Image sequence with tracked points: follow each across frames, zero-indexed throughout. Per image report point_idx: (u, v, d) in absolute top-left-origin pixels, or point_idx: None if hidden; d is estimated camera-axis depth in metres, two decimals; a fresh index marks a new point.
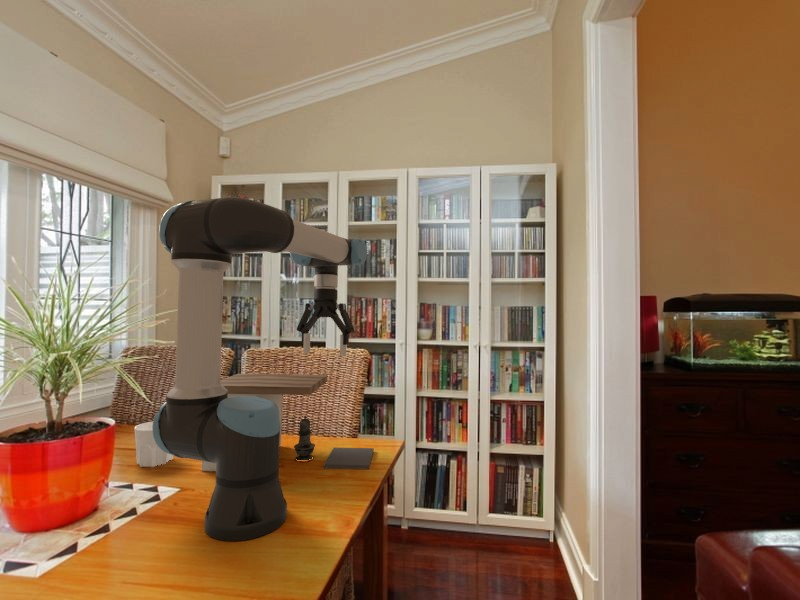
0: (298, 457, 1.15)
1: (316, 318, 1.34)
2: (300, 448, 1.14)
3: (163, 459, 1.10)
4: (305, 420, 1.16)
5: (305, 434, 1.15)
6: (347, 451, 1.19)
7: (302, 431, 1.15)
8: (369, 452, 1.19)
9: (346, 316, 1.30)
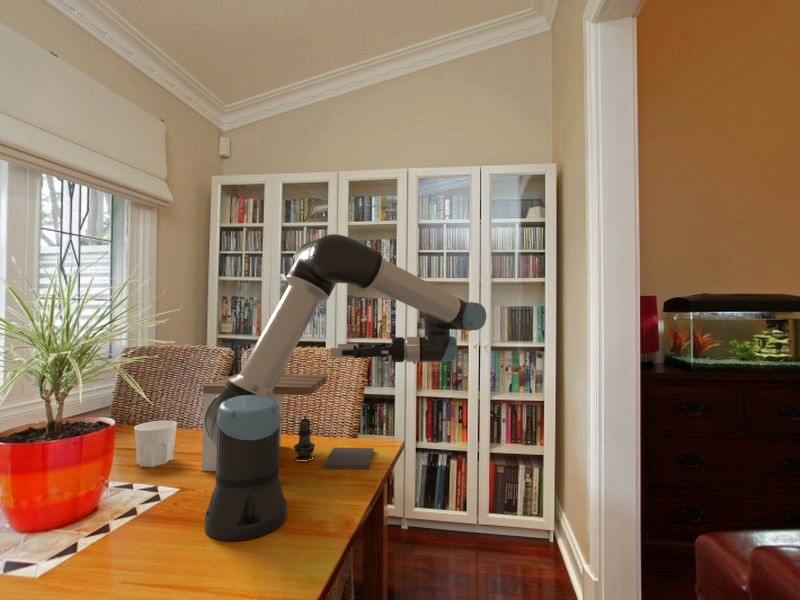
0: (298, 457, 1.15)
1: None
2: (300, 448, 1.14)
3: (163, 459, 1.10)
4: (305, 420, 1.16)
5: (305, 434, 1.15)
6: (347, 451, 1.19)
7: (301, 431, 1.15)
8: (369, 452, 1.19)
9: (373, 351, 1.16)
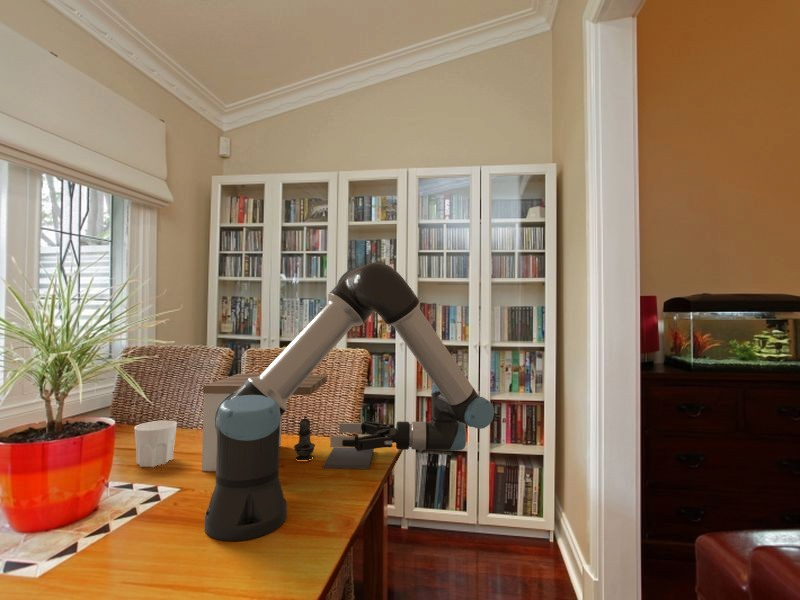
0: (298, 457, 1.15)
1: (376, 431, 1.19)
2: (300, 448, 1.14)
3: (163, 459, 1.10)
4: (305, 420, 1.16)
5: (305, 434, 1.15)
6: (347, 451, 1.19)
7: (301, 431, 1.15)
8: (369, 452, 1.19)
9: (376, 442, 1.08)
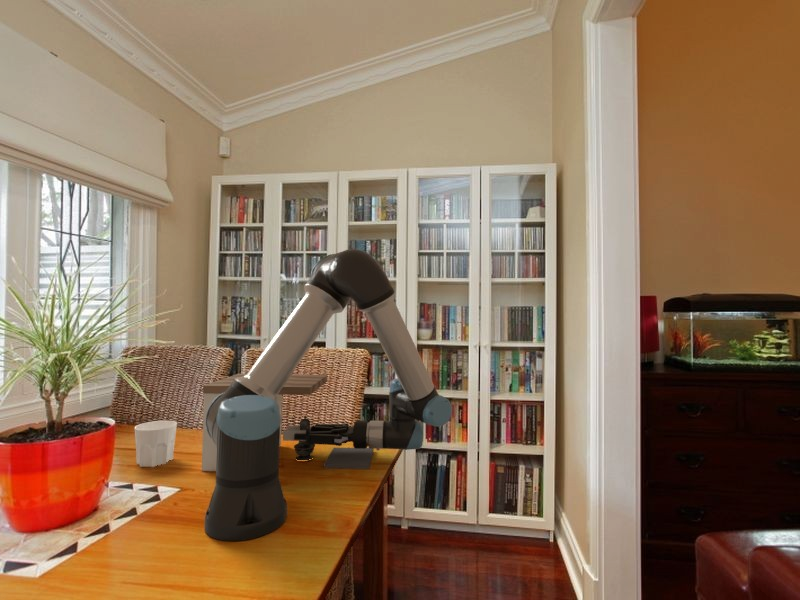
0: (298, 457, 1.15)
1: None
2: (300, 448, 1.14)
3: (163, 459, 1.10)
4: (305, 420, 1.16)
5: None
6: (347, 451, 1.19)
7: None
8: (369, 452, 1.19)
9: (325, 438, 1.10)
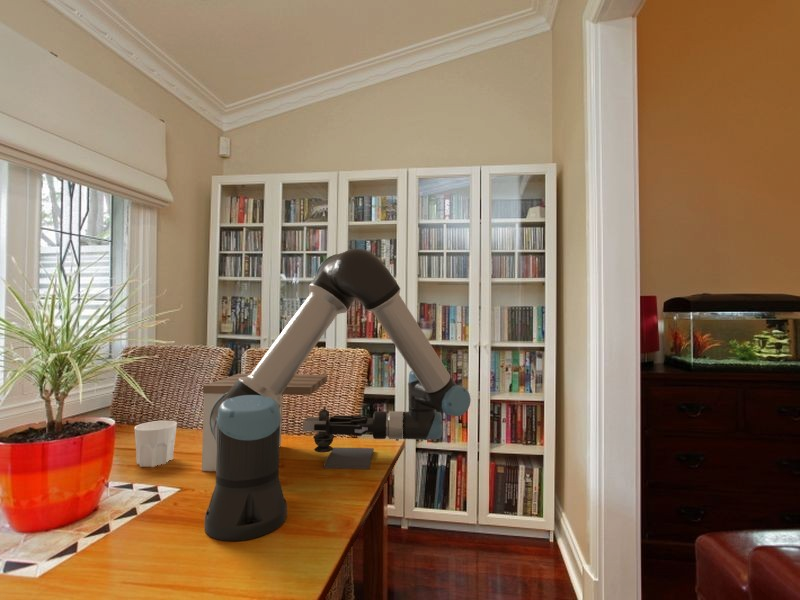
0: (317, 448, 1.16)
1: None
2: (320, 438, 1.14)
3: (163, 459, 1.10)
4: (324, 411, 1.16)
5: None
6: (347, 451, 1.19)
7: None
8: (369, 452, 1.19)
9: (345, 428, 1.11)
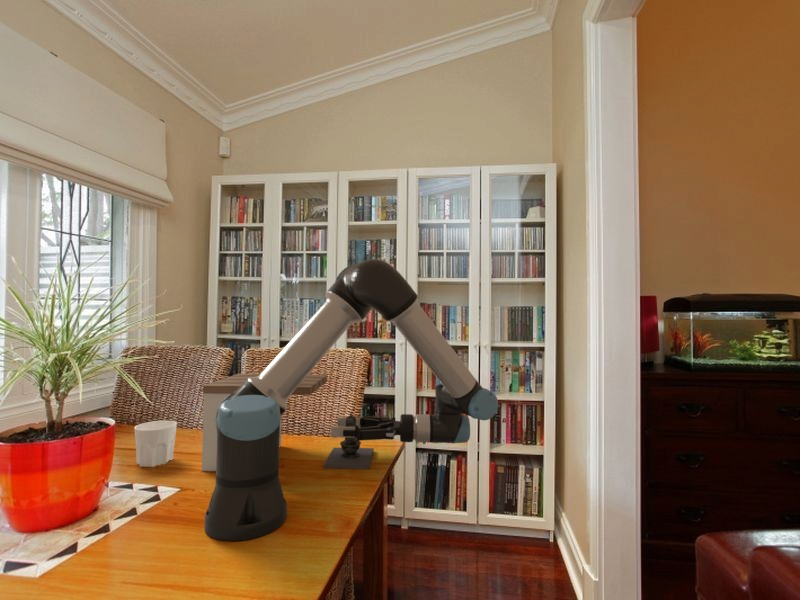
0: (344, 454, 1.15)
1: None
2: (347, 445, 1.13)
3: (163, 459, 1.10)
4: (351, 417, 1.15)
5: None
6: None
7: None
8: (369, 452, 1.19)
9: (376, 433, 1.09)
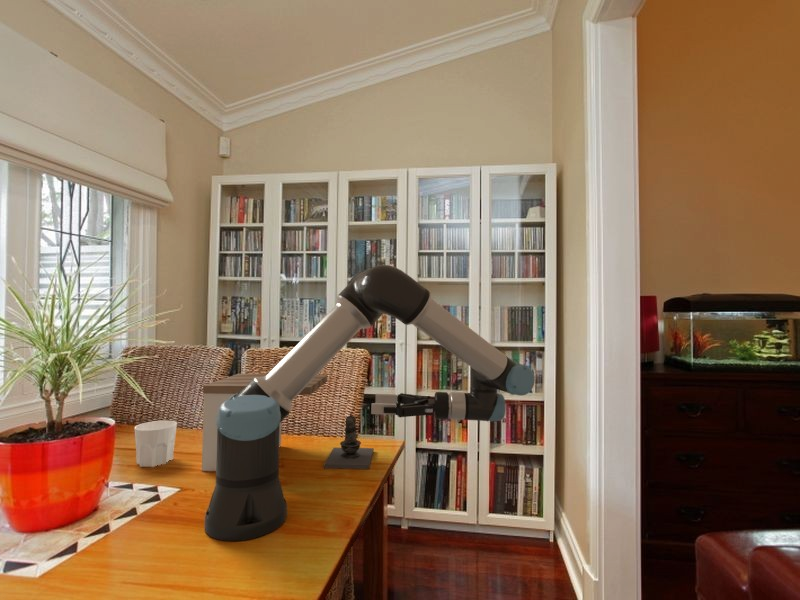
0: (344, 454, 1.15)
1: (413, 402, 1.19)
2: (347, 445, 1.13)
3: (163, 459, 1.10)
4: (351, 417, 1.15)
5: (351, 431, 1.14)
6: None
7: (348, 428, 1.15)
8: (369, 452, 1.19)
9: (417, 409, 1.08)
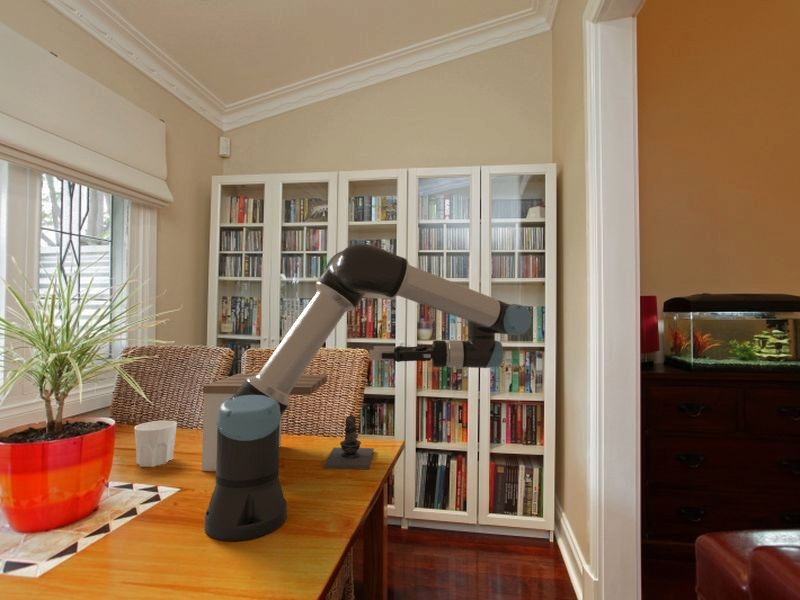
0: (344, 454, 1.15)
1: None
2: (347, 445, 1.13)
3: (163, 459, 1.10)
4: (351, 417, 1.15)
5: (351, 431, 1.14)
6: None
7: (348, 428, 1.15)
8: (369, 452, 1.19)
9: (415, 354, 1.08)
